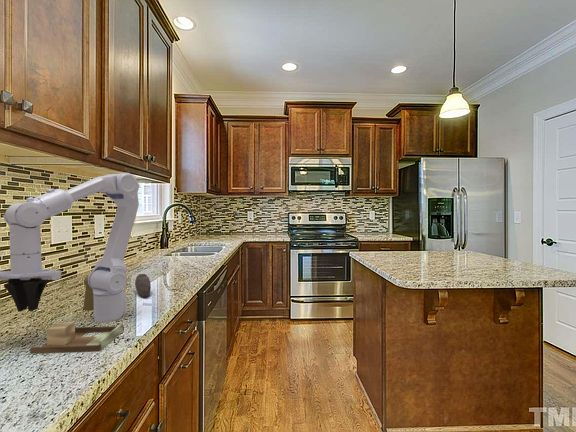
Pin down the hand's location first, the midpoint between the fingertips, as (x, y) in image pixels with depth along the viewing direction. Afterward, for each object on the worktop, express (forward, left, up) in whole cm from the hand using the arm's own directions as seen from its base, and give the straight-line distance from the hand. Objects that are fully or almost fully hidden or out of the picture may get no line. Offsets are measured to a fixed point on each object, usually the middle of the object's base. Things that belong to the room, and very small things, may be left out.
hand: (27, 310), depth 77 cm
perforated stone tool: (-47, +9, -10) cm, 49 cm away
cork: (-31, -1, -10) cm, 33 cm away
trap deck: (0, +12, -9) cm, 15 cm away
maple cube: (0, +8, -8) cm, 11 cm away
